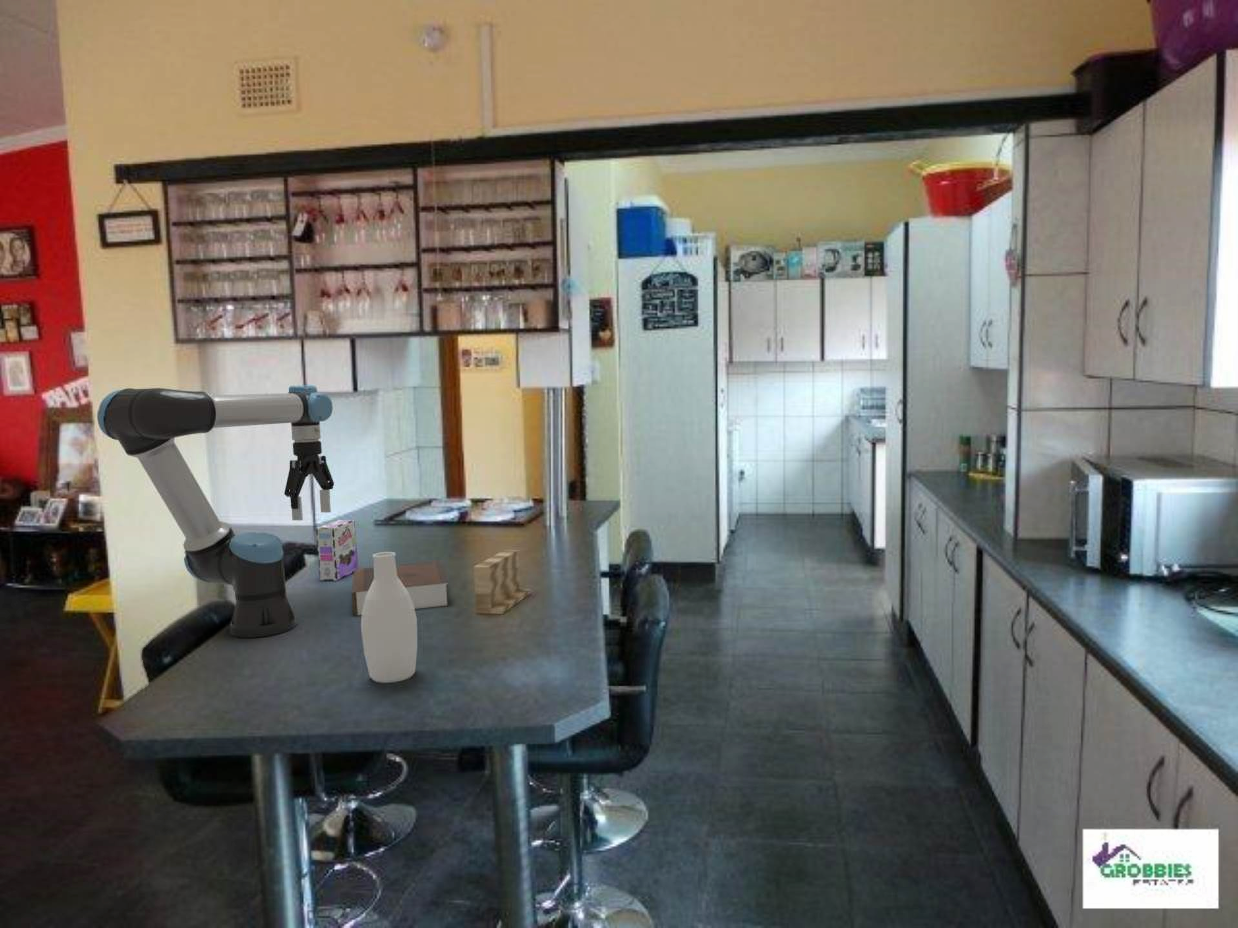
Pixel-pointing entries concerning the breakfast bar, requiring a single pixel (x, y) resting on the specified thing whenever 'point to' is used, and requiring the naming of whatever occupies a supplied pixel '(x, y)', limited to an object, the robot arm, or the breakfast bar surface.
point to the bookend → (498, 583)
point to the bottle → (388, 624)
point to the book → (406, 584)
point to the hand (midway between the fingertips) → (312, 516)
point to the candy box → (337, 550)
